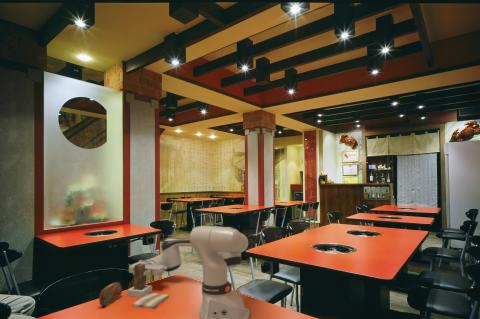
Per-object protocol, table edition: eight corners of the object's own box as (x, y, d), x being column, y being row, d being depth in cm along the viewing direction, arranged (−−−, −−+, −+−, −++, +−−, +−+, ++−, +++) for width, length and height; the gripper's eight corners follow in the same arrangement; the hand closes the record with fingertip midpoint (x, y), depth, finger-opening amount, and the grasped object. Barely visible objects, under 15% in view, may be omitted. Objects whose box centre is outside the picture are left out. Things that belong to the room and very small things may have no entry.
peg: (144, 286, 155) (145, 264, 156) (140, 289, 151) (140, 266, 152) (138, 285, 156) (138, 263, 157) (133, 288, 152) (134, 265, 153)
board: (169, 297, 147) (169, 294, 148) (154, 309, 134) (154, 306, 134) (148, 295, 151) (148, 292, 151) (132, 306, 137) (132, 303, 137)
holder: (152, 291, 156) (152, 285, 156) (142, 297, 148) (142, 291, 148) (137, 289, 159) (137, 284, 159) (127, 295, 150) (127, 290, 150)
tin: (103, 308, 135) (103, 290, 136) (97, 308, 136) (98, 290, 136) (122, 296, 150) (122, 279, 150) (117, 295, 150) (117, 279, 151)
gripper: (168, 272, 163) (155, 281, 150) (137, 270, 169) (122, 278, 155) (168, 261, 164) (155, 268, 151) (137, 259, 169) (122, 266, 156)
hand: (138, 273), depth 153 cm, fingers closed on peg, 4 cm apart
